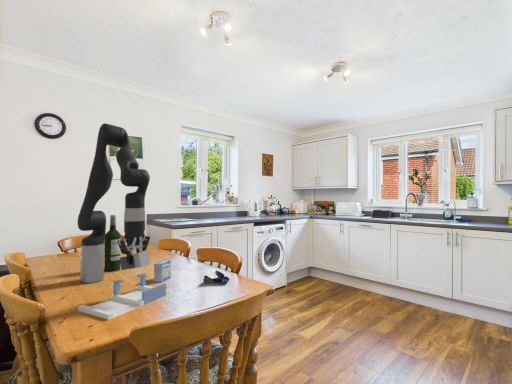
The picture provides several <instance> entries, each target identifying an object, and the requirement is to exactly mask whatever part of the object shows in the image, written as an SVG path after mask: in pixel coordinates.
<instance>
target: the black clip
mask: <svg viewBox="0 0 512 384" xmlns="http://www.w3.org/2000/svg"><path fill="white" fill-rule="evenodd" d="M214 271H215V272H214V273H215V275H216V277H215V275H213V276H214V277H213V278H212V277H209V276H208V275H204V276H203V281H202V282H203V283H204V282H205V283H210V284H220V283H224V284H227V283H228V282H229V281H230V278H229V277H228V276H225V274H224V273H223V272H221V271H219V270H214ZM211 273H213V272H211Z"/></svg>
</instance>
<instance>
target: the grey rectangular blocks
mask: <svg viewBox="0 0 512 384" xmlns="http://www.w3.org/2000/svg"><path fill="white" fill-rule="evenodd" d="M132 255H133V264H132V265H128V263H127V255H125V256H121V258H120V270H121V271H126V270H131V269H137V268H142V267H146V266H150V258H149V253H148V250H146V251H143V252H139V253H136V252H135V253H133V254H132Z"/></svg>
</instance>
